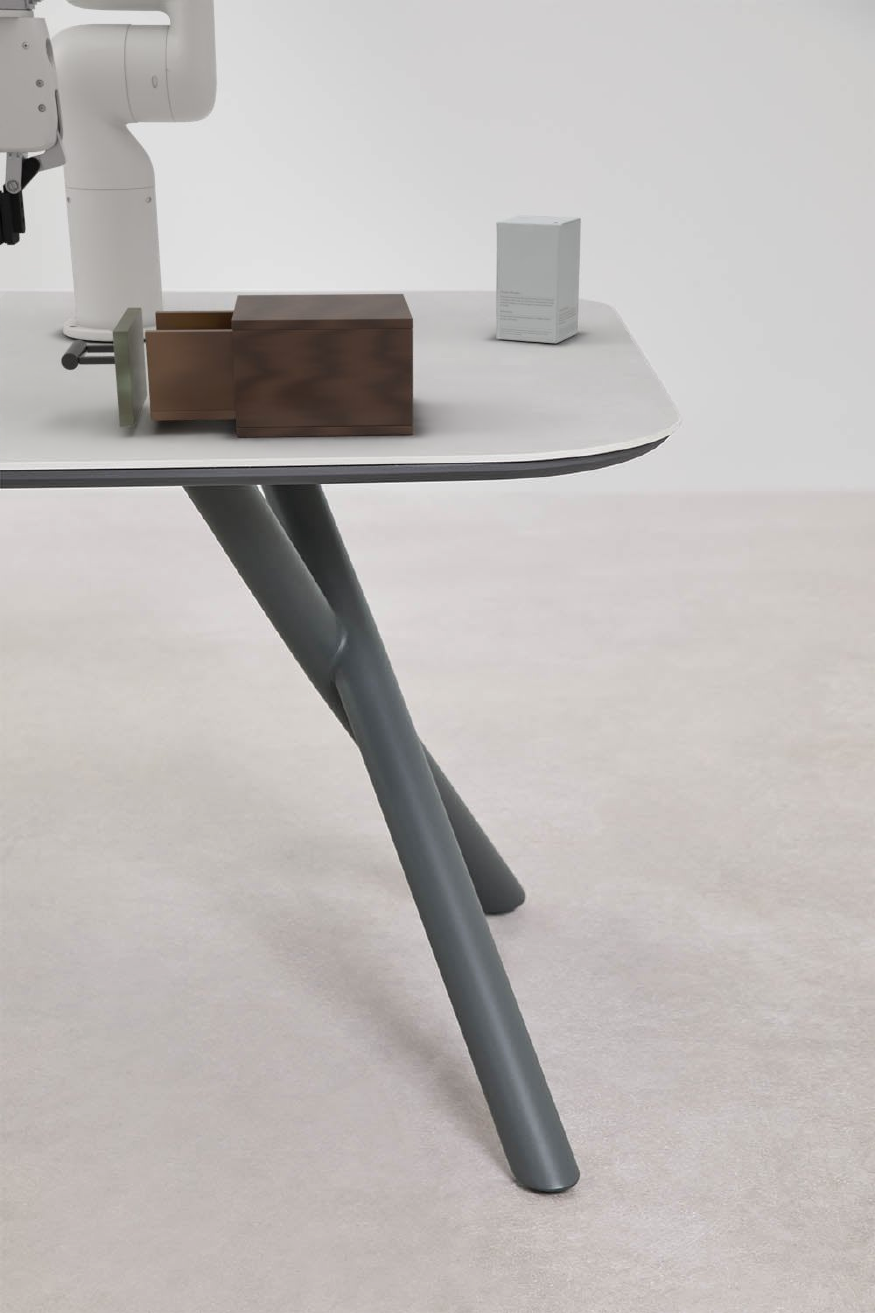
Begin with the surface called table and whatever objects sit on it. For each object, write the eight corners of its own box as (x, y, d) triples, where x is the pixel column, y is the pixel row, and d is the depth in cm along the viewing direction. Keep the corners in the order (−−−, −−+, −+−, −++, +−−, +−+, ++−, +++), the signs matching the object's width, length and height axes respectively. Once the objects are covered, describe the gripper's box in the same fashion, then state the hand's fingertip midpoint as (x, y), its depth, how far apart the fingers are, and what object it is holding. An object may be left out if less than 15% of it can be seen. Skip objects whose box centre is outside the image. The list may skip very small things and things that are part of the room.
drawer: (61, 427, 123) (52, 331, 120) (80, 396, 133) (72, 307, 130) (284, 424, 124) (281, 329, 121) (286, 394, 135) (283, 306, 132)
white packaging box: (579, 333, 168) (584, 216, 163) (556, 345, 161) (560, 223, 157) (518, 328, 170) (520, 213, 166) (493, 339, 164) (495, 220, 159)
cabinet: (236, 437, 124) (231, 320, 120) (242, 403, 135) (237, 294, 132) (413, 434, 125) (413, 318, 121) (403, 400, 136) (403, 293, 133)
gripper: (87, -1, 119) (105, 237, 126) (-106, -3, 118) (-77, 238, 125) (73, -4, 112) (93, 248, 119) (-131, -5, 111) (-99, 249, 118)
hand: (6, 242), depth 122 cm, fingers closed
